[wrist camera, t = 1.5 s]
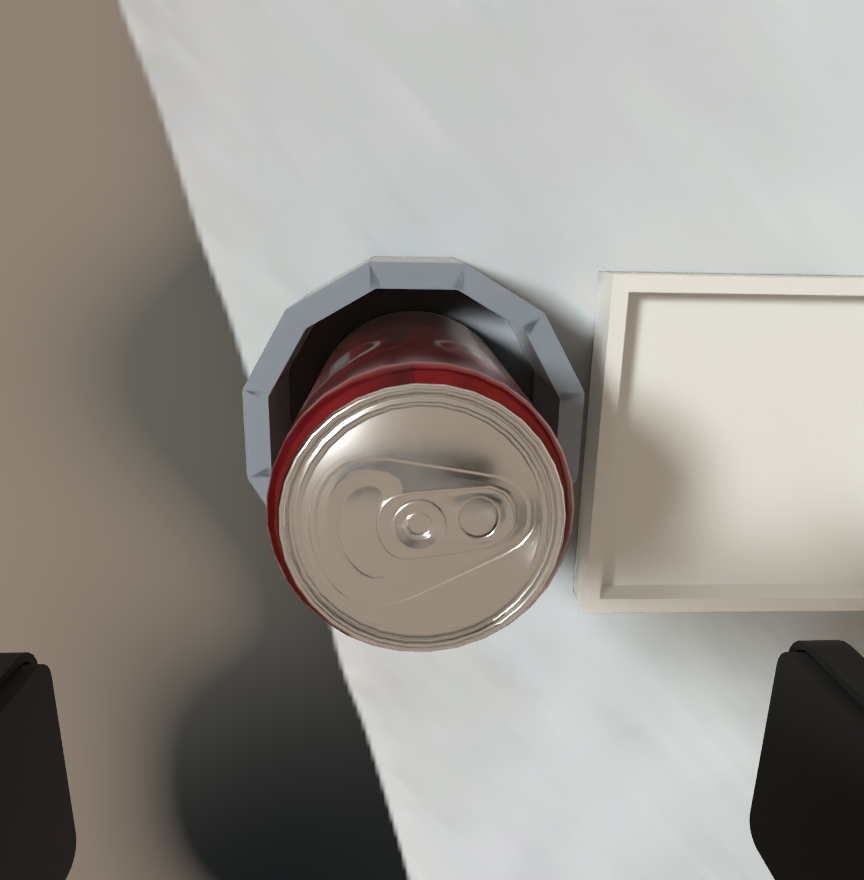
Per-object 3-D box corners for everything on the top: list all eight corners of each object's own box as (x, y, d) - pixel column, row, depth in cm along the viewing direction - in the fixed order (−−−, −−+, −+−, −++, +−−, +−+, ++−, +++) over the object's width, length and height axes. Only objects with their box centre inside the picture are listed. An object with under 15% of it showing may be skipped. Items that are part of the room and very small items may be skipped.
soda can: (326, 496, 29) (279, 675, 17) (309, 314, 27) (242, 377, 15) (507, 485, 29) (579, 655, 17) (504, 303, 27) (583, 358, 15)
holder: (562, 259, 26) (595, 265, 22) (544, 534, 30) (569, 586, 25) (261, 254, 26) (235, 259, 22) (274, 534, 29) (253, 588, 25)
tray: (941, 277, 27) (978, 280, 26) (874, 589, 31) (903, 610, 29) (599, 271, 27) (613, 274, 25) (573, 591, 30) (583, 612, 29)
